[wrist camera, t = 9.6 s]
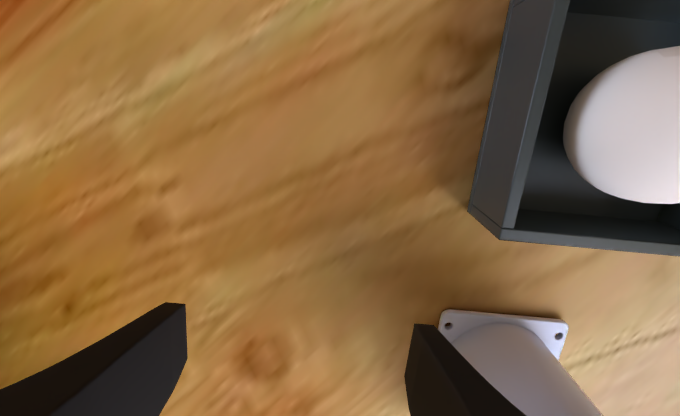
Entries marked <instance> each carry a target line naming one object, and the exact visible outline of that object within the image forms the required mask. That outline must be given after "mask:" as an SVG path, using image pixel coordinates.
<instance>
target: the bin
mask: <svg viewBox="0 0 680 416" xmlns="http://www.w3.org/2000/svg"><path fill="white" fill-rule="evenodd" d="M676 46H680V0H510V4H509V8H508V13H507V18H506V23H505V28H504V33H503V38H502V43H501V48H500V53H499V58H498V62H497V67H496V72H495V77H494V82H493V87H492V92H491V97H490V102H489V107H488V112H487V117H486V121H485V126H484V131H483V136H482V141H481V146H480V151H479V156H478V161H477V166H476V171H475V175H474V180H473V185H472V190H471V195H470V200H469V205H468V210H467V212H468V213H470V214H471V215H472V216H473V217H474V218H475V219H476V220H477V221H479V222H480V223H481V224H482V225H483V226H484V227H485V228H486V229H487V230H489V231H490V232H491V233H492V234H493V235H494V236H495V237H496V238H498V239H499V240H506V241H517V242H528V243H539V244H550V245H561V246H572V247H583V248H594V249H605V250H616V251H627V252H638V253H648V254H659V255H670V256H680V203H675V204H655V203H642V202H637V201H632V200H627V199H623V198H619V197H616V196H613V195H610V194H608V193H605V192H603V191H601V190H599V189H597V188H595V187H594V186H593V185H591V184H590V183H588V182H587V181H586V180H584V179H583V178H582V177H581V176H580V175H579V174H578V173H577V172H576V171H575V170H574V168H573V166H572V164H571V163H570V161H569V159H568V157H567V154H566V151H565V148H564V144H563V131H564V122H565V119H566V117H567V114H568V111H569V108H570V106H571V104H572V102H573V101H574V99H575V98H576V96H577V95H578V93H579V92H580V91H581V90H582V89H583V87H584V86H586V85H587V84H588V83H589V82H590V81H591V80H592V79H593V78H594V77H595V76H596V75H598V74H599V73H601V72H602V71H604V70H605V69H606V68H608V67H609V66H611V65H613V64H615V63H617V62H619V61H621V60H624V59H626V58H628V57H630V56H633V55H636V54H640V53H643V52H647V51H650V50H657V49H663V48H669V47H676Z"/></svg>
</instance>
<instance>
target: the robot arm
mask: <svg viewBox="0 0 680 416" xmlns="http://www.w3.org/2000/svg"><path fill="white" fill-rule="evenodd" d="M446 323H451V324H450V325H449V326H445V324H446ZM568 328H569V327H568V324H567V323H566V322H565V321H563V320H561V319H552V318H541V317H530V316H519V315H508V314H496V313H485V312H474V311H463V310H452V309H448V310H445V311H443V312H442V314H441V317H440V322H439V327H438V329H437V328H436V327H435V326H434V325H427V324H415V323H414V328H413V334H412V339H411V344H410V349H409V355H408V360H407V365H406V371H405V384H406V391H407V398H408V405H409V411H410V415H411V416H603V414H602V413H601V412H600V411H599V410H598V408H597V407H596V406H595V405H594V404H593V402H592V401H591V400H590V399H589V397H588V396H587V395H586V394H585V393H584V391H583V390H582V389H581V388H580V386H579V385H578V384H577V383H576V382H575V380H574V379H573V378H572V377H571V376H570V374H569V373H568V372H567V371H566V369H565V368H564V367H563V366H562V365H561V363H560V362H559V361H558V360H559V357H560V354H561V351H562V348H563V345H564V342H565V339H566V335H567V332H568ZM557 333H559V334H558V335H556V336H555V334H557ZM186 361H187V333H186V308H185V304H179V303H167V302H165V303H163V304H162V305H160V306H158V307H156V308H154V309H153V310H151V311H149V312H147V313H146V314H144V315H142V316H141V317H139V318H137V319H136V320H134V321H132V322H131V323H129V324H127V325H126V326H124V327H122V328H120V329H119V330H117V331H115V332H114V333H112V334H110V335H109V336H107V337H105V338H103V339H102V340H100V341H98V342H96V343H94V344H92V345H91V346H89V347H87V348H85V349H83V350H81V351H80V352H78V353H76V354H74V355H72V356H70V357H68V358H67V359H65V360H63V361H61V362H59V363H57V364H55V365H53V366H51V367H49V368H47V369H45V370H43V371H41V372H38V373H36V374H34V375H32V376H30V377H28V378H25V379H23V380H21V381H19V382H17V383H14V384H12V385H10V386H8V387H5V388H3V389H0V416H159V415H160V413H161V411H162V409H163V408H164V406H165V404H166V403H167V401H168V399H169V397H170V396H171V394H172V392H173V390H174V388H175V386H176V384H177V382H178V379H179V377H180V375H181V373H182V370H183V368H184V365H185V363H186Z"/></svg>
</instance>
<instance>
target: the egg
mask: <svg viewBox="0 0 680 416" xmlns="http://www.w3.org/2000/svg"><path fill="white" fill-rule="evenodd" d="M563 144H564V148H565V151H566V154H567V157H568V159H569V161H570V163H571V164H572V166H573V168H574V170H575V171H576V172H577V173H578V174H579V175H580V176H581V177H582V178H583V179H584V180H586V181H587V182H588V183H590V184H591V185H593V186H594V187H595V188H597V189H599V190H601V191H603V192H605V193H608V194H610V195H613V196H616V197H619V198H623V199H627V200H632V201H637V202H642V203H655V204H675V203H680V46H676V47H669V48H663V49H657V50H650V51H647V52H643V53H640V54H636V55H633V56H630V57H628V58H626V59H624V60H621V61H619V62H617V63H615V64H613V65H611V66H609V67H608V68H606V69H605V70H604V71H602V72H601V73H599V74H598V75H596V76H595V77H594V78H593V79H592V80H591V81H590V82H589V83H588V84H587V85H586V86H584V87H583V89H582V90H581V91H580V92H579V93H578V95H577V96H576V98H575V99H574V101H573V102H572V104H571V106H570V108H569V111H568V114H567V117H566V119H565V122H564V131H563Z"/></svg>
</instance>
